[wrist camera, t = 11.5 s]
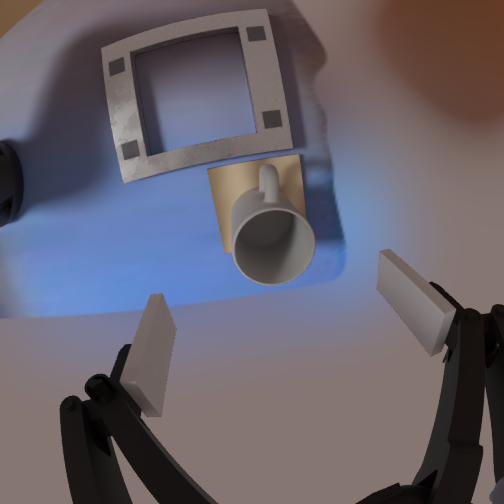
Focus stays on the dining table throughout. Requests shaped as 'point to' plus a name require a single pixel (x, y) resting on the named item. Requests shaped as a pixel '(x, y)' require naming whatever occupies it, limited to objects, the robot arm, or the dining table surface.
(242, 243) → the mug
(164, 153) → the grey square frame
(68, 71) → the dining table surface
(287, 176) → the coaster
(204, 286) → the dining table surface
